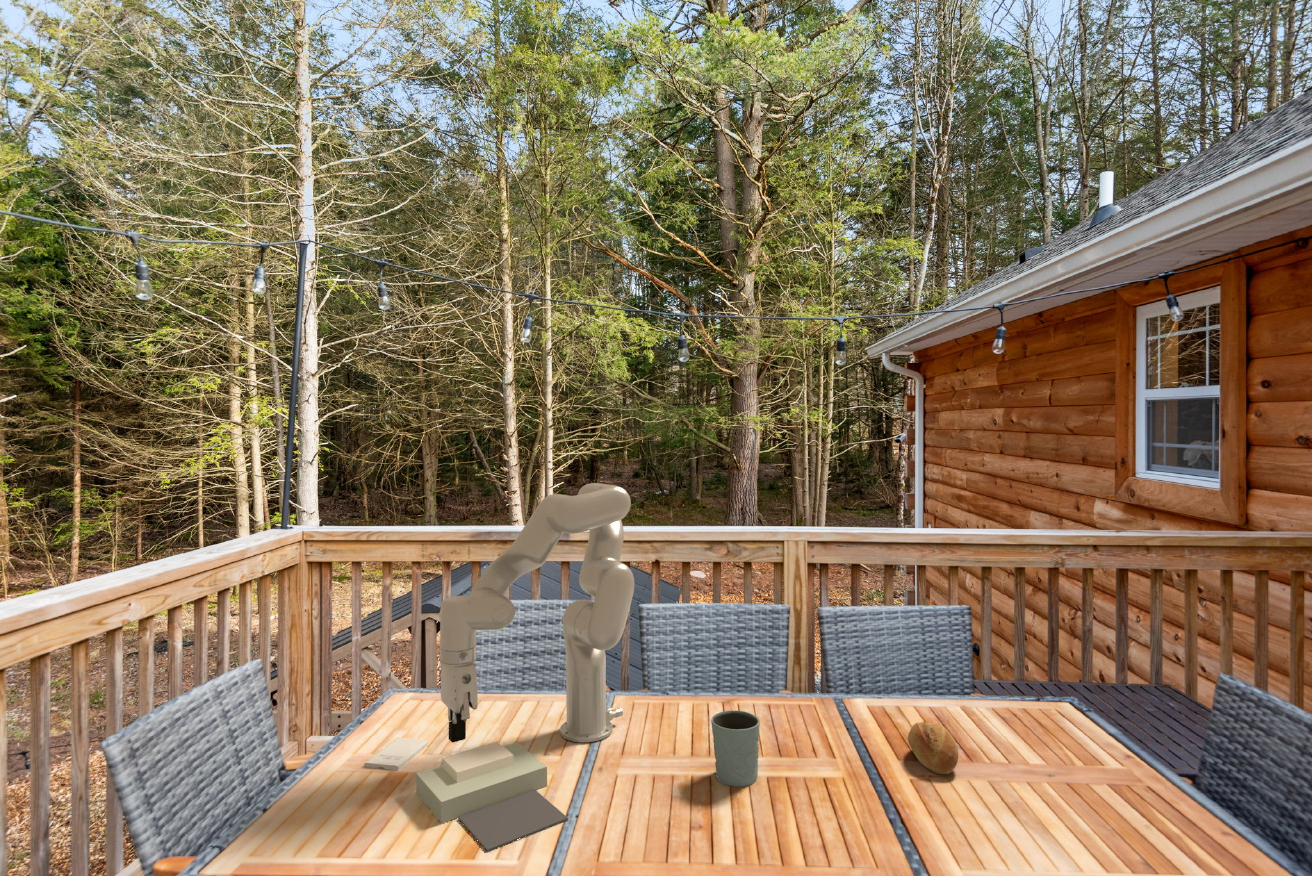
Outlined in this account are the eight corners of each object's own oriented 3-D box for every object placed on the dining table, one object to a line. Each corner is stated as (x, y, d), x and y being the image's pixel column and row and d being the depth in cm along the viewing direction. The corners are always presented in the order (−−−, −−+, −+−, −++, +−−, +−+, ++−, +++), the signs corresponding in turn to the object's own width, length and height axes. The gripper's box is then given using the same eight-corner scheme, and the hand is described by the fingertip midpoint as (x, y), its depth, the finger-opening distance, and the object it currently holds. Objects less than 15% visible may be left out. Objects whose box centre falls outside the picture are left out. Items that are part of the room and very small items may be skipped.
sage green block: (516, 760, 152) (516, 742, 152) (547, 786, 141) (547, 766, 141) (416, 792, 139) (416, 773, 139) (441, 823, 128) (441, 802, 128)
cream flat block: (497, 750, 149) (496, 741, 149) (513, 764, 142) (513, 754, 142) (442, 767, 141) (442, 757, 141) (457, 782, 135) (457, 772, 135)
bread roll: (920, 779, 144) (920, 740, 144) (900, 746, 159) (900, 711, 159) (967, 780, 143) (967, 742, 143) (943, 747, 158) (943, 712, 158)
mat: (535, 791, 139) (535, 789, 139) (568, 820, 129) (568, 817, 129) (458, 819, 129) (458, 817, 129) (487, 852, 119) (487, 849, 119)
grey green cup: (758, 791, 139) (758, 731, 139) (708, 786, 141) (708, 727, 141) (761, 767, 149) (760, 711, 149) (714, 763, 151) (714, 708, 151)
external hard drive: (428, 747, 161) (398, 772, 148) (396, 744, 162) (363, 769, 150) (428, 740, 161) (398, 765, 148) (396, 737, 162) (363, 762, 150)
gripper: (488, 660, 146) (487, 747, 146) (461, 643, 158) (460, 724, 158) (454, 667, 141) (453, 757, 141) (428, 649, 153) (427, 732, 153)
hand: (457, 739), depth 149 cm, fingers closed
